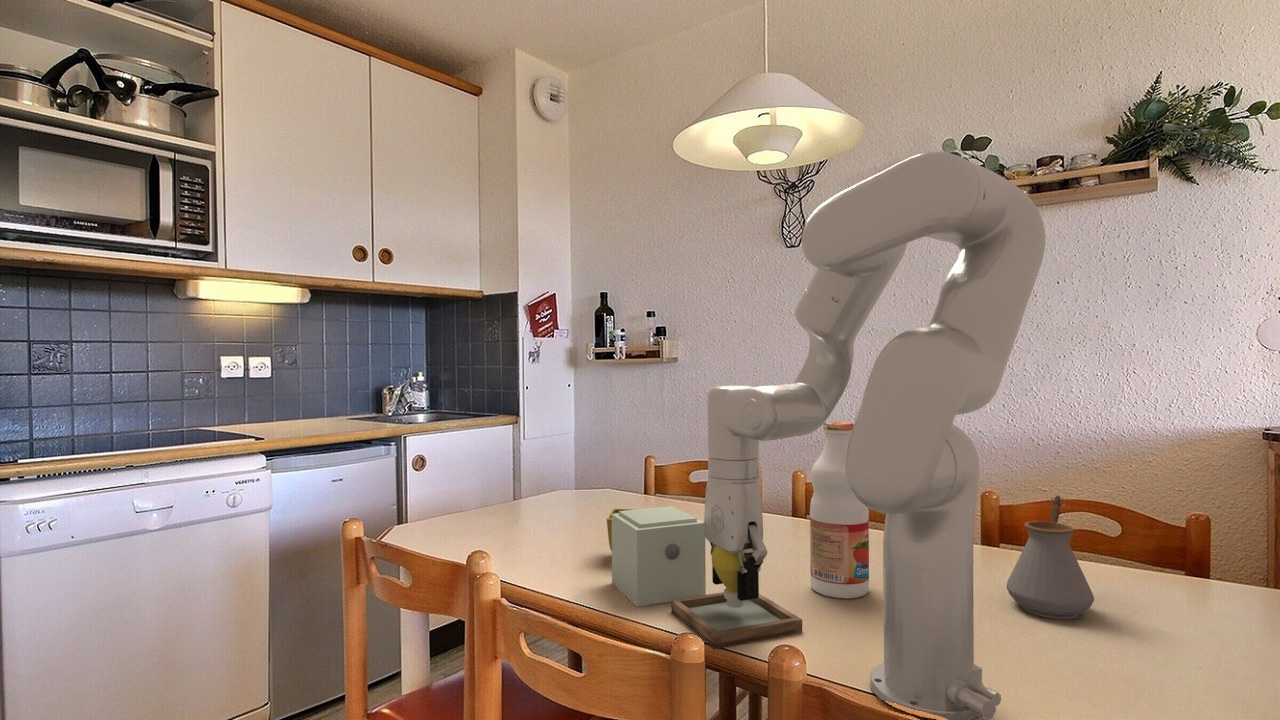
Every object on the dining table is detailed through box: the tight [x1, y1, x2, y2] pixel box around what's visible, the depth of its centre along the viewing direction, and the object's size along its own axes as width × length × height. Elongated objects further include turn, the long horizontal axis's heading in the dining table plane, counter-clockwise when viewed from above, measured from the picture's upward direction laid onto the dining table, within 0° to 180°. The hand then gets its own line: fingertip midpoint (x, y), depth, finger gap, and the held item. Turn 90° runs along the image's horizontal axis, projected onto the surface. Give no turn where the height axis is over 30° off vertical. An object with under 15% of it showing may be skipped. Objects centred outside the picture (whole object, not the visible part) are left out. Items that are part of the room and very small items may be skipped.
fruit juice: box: [809, 421, 870, 599], centre depth 111 cm, size 9×9×28 cm
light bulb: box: [711, 545, 751, 608], centre depth 98 cm, size 7×7×10 cm
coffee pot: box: [1006, 495, 1095, 620], centre depth 106 cm, size 21×12×15 cm, turn 143°
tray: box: [670, 591, 803, 650], centre depth 98 cm, size 14×14×2 cm
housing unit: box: [611, 505, 707, 608], centre depth 112 cm, size 13×12×13 cm
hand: (734, 589), depth 98 cm, fingers closed on light bulb, 6 cm apart
